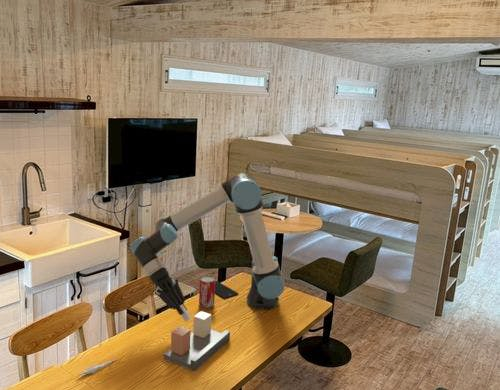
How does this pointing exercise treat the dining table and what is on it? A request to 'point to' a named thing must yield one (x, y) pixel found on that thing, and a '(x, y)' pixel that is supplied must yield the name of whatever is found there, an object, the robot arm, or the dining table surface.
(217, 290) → the cell phone
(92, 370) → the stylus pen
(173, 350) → the reddish pink block
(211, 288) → the soda can
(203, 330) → the key cream
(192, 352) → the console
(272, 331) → the dining table surface
